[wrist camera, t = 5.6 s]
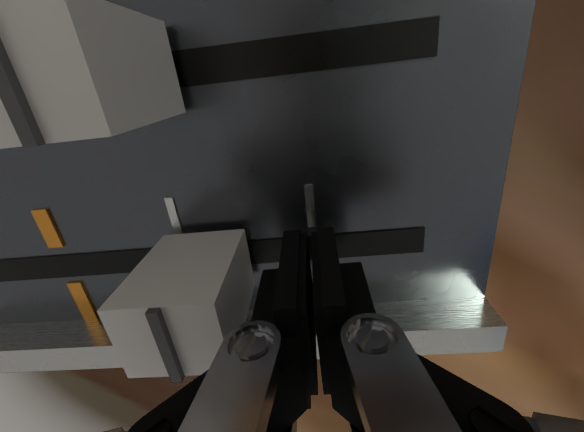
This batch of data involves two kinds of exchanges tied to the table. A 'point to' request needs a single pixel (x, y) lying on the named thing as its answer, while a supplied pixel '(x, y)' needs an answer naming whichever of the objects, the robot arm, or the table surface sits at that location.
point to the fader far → (180, 304)
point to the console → (283, 167)
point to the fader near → (81, 71)
